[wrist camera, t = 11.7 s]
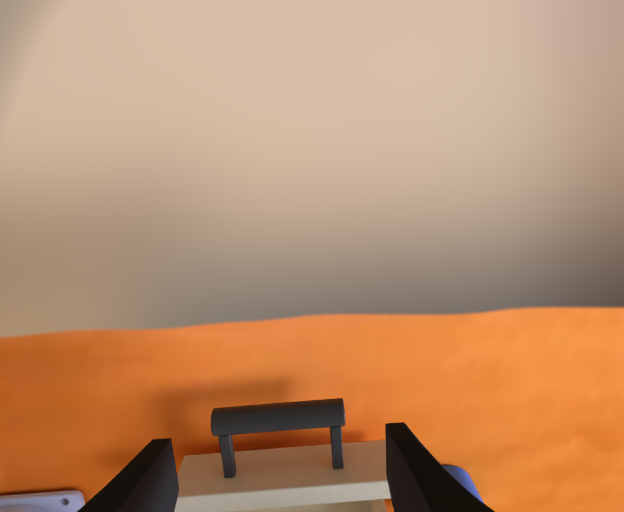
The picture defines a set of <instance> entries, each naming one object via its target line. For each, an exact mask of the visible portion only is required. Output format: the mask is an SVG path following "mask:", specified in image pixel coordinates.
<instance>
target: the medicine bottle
mask: <svg viewBox="0 0 624 512" xmlns="http://www.w3.org/2000/svg"><path fill="white" fill-rule="evenodd" d="M443 467H444V468H445V469H446V470H447V471H448V472H449V473H450V474H451V475H452V476H453V477H454V478H455V479H456V480H457V481H458V482H459V483H460V484H461V485H462V486H464V487H465V488H466V489H467V490H468V491H469V492H470V493H472V494H473V495H474V496H475V497H476V498H478V499H479V500H480V501H481V502H483V501H482V499H481V497H480V495H479V493H478V491H477V489H476V487H475V485H474V483H473V482H472V480H471V478H470V476H469V474H468V473H467V472H466V471H465V470H463V469H462V468H459V467H457V466H452V465H445V466H443Z"/></svg>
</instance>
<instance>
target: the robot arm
mask: <svg viewBox="0 0 624 512" xmlns="http://www.w3.org/2000/svg"><path fill="white" fill-rule="evenodd" d="M386 476H387V481H388V486H389V491H390V495H391V500H392V505H393V508H394V511H395V512H494V511H493V510H492V509H490V508H489V507H488V506H486V505H485V504H484V503H483V502H481V501H480V500H479V499H478V498H476V497H475V496H474V495H473V494H472V493H470V492H469V491H468V490H467V489H466V488H465V487H464V486H462V485H461V484H460V483H459V482H458V481H457V480H456V479H455V478H454V477H453V476H452V475H451V474H450V473H449V472H448V471H447V470H446V469H445V468H444V467H443V466H442V465H441V464H440V463H439V462H438V461H437V460H436V459H435V458H434V457H433V456H432V454H431V453H430V452H429V451H428V450H427V449H426V448H425V447H424V445H423V444H422V443H421V442H420V441H419V440H418V439H417V437H416V436H415V435H414V434H413V432H412V431H411V430H410V429H409V428H408V426H407V425H406V424H405V423H404V422H402V423H388V424H386ZM178 493H179V484H178V478H177V472H176V466H175V459H174V453H173V447H172V441H171V438H169V439H154V440H152V441H151V442H150V443H149V444H148V445H147V446H146V447H145V448H144V449H143V450H142V451H141V452H140V453H139V454H138V455H137V456H136V457H135V458H134V459H133V460H132V461H131V462H130V463H129V464H128V465H127V466H126V467H125V468H124V469H123V470H122V471H121V472H120V473H119V474H117V475H116V476H115V477H114V478H113V479H112V480H111V481H110V482H109V483H108V484H107V485H106V486H105V487H104V488H103V489H102V490H101V491H99V492H98V493H97V494H96V495H95V496H94V497H93V498H92V499H91V500H89V501H88V502H87V503H86V504H85V500H84V496H83V494H82V493H81V492H80V491H78V490H67V491H55V492H42V493H30V494H17V495H5V496H0V512H174V510H175V506H176V502H177V498H178ZM65 498H66V499H67V500H66V499H65Z"/></svg>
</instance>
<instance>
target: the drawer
mask: <svg viewBox="0 0 624 512" xmlns="http://www.w3.org/2000/svg"><path fill="white" fill-rule="evenodd" d="M341 426H345V411H344V403H343V399H342V398H338V399H325V400H312V401H299V402H287V403H274V404H261V405H248V406H236V407H223V408H214V409H213V411H212V415H211V431H212V434H213V436H219V444H220V451H221V453H212V454H199V455H187V456H184V458H183V460H182V463H181V466H180V468H179V471H178V474H177V478H178V484H179V493H178V498H177V502H176V506H175V510H174V512H387V510H386V506H385V502H384V499H389V498H391V495H390V491H389V486H388V481H387V476H386V440H375V441H362V442H350V443H342V430H341ZM324 427H330V436H331V444H325V445H312V446H300V447H287V448H274V449H262V450H249V451H237V452H234V448H233V441H232V435H236V434H248V433H261V432H274V431H286V430H299V429H312V428H324Z"/></svg>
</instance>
